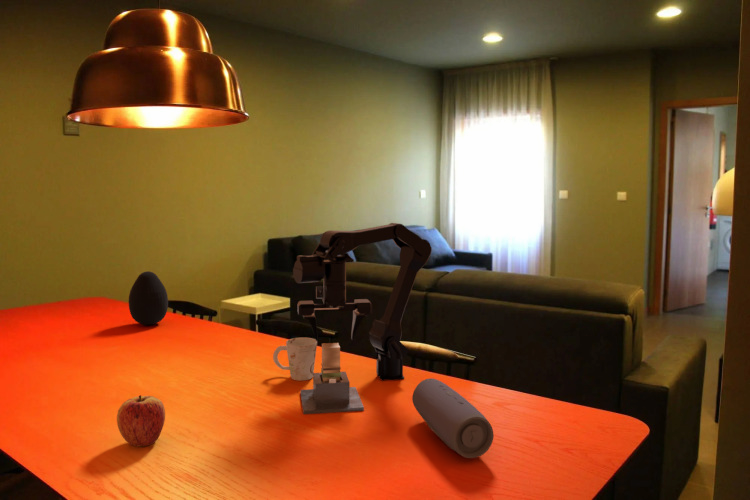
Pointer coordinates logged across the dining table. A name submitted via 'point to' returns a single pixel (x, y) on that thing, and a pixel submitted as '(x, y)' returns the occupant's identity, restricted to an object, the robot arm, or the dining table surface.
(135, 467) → the dining table surface
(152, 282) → the egg
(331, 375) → the column
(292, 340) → the mug
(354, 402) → the stand base
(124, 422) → the apple
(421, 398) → the bluetooth speaker
